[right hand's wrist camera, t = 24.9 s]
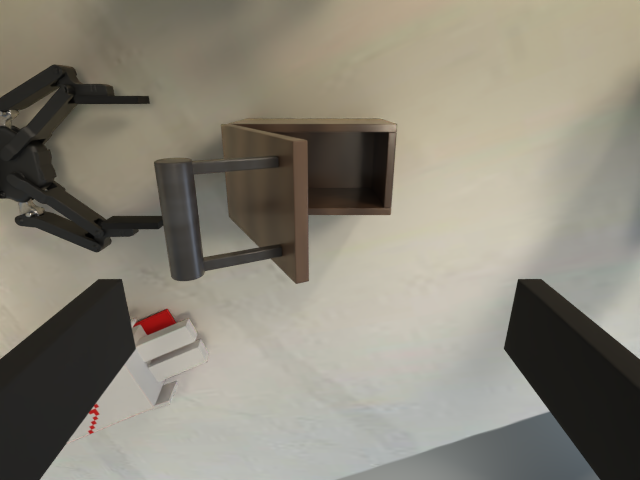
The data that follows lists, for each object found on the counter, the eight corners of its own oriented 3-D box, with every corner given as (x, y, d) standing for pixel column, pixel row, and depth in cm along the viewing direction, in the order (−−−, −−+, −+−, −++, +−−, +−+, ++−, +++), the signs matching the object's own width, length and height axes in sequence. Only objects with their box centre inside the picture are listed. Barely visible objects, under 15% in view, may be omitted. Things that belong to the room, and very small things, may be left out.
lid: (308, 140, 22) (155, 147, 19) (309, 281, 25) (179, 311, 22) (230, 124, 36) (136, 126, 33) (238, 215, 40) (152, 227, 36)
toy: (211, 398, 50) (-1, 486, 49) (222, 342, 62) (54, 412, 62) (165, 324, 46) (-65, 420, 45) (188, 281, 58) (8, 355, 58)
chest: (380, 118, 47) (397, 124, 37) (376, 192, 50) (390, 215, 40) (246, 118, 46) (227, 123, 37) (251, 192, 50) (234, 215, 40)
